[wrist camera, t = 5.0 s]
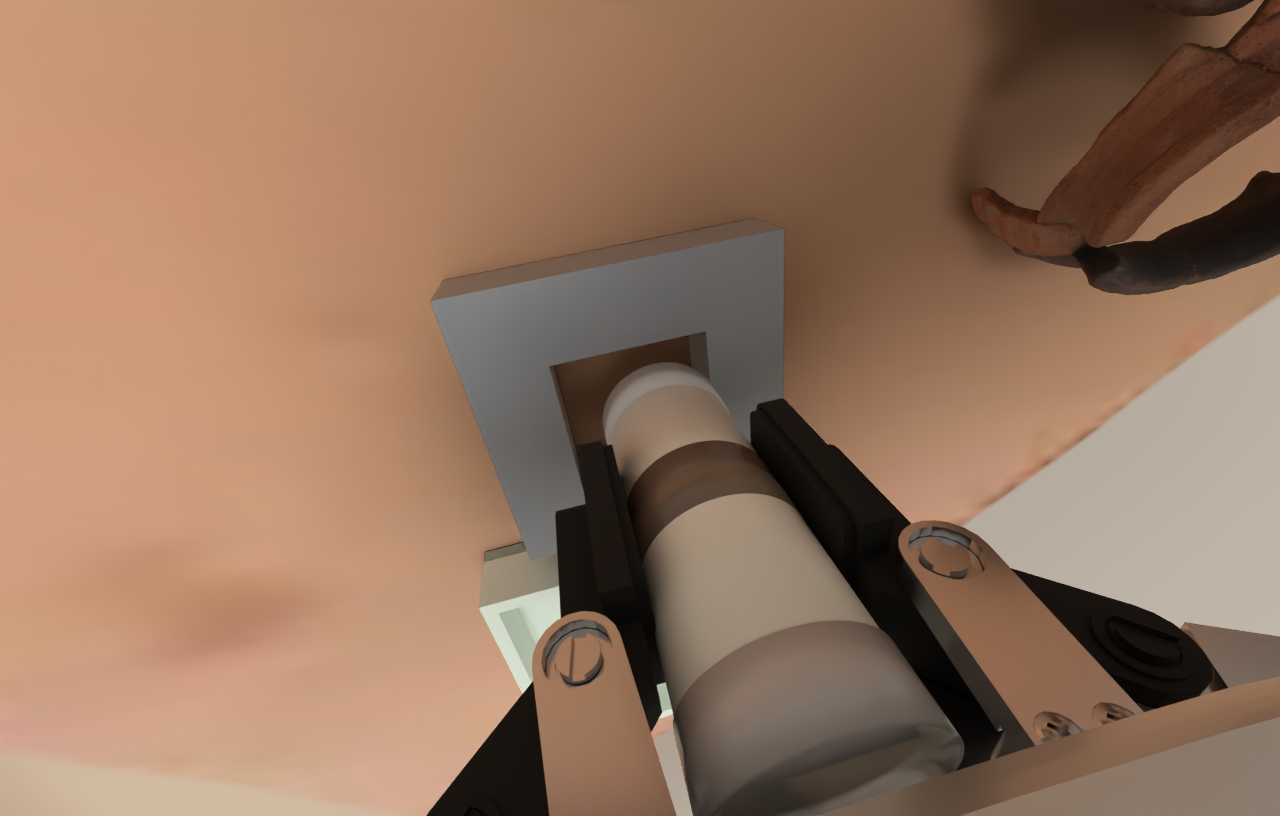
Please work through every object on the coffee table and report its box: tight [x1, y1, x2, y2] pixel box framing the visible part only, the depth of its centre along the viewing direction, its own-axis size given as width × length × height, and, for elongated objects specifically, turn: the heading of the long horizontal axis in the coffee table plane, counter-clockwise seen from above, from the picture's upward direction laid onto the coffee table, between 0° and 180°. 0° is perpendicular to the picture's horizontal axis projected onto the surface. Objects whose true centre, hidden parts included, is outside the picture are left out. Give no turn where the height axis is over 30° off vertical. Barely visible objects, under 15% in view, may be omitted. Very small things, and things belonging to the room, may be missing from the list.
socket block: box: [430, 219, 784, 560], centre depth 15 cm, size 9×9×2 cm
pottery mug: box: [971, 0, 1280, 295], centre depth 11 cm, size 12×10×8 cm
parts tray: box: [479, 542, 673, 719], centre depth 20 cm, size 9×10×2 cm
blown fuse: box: [602, 362, 964, 816], centre depth 9 cm, size 3×3×9 cm
